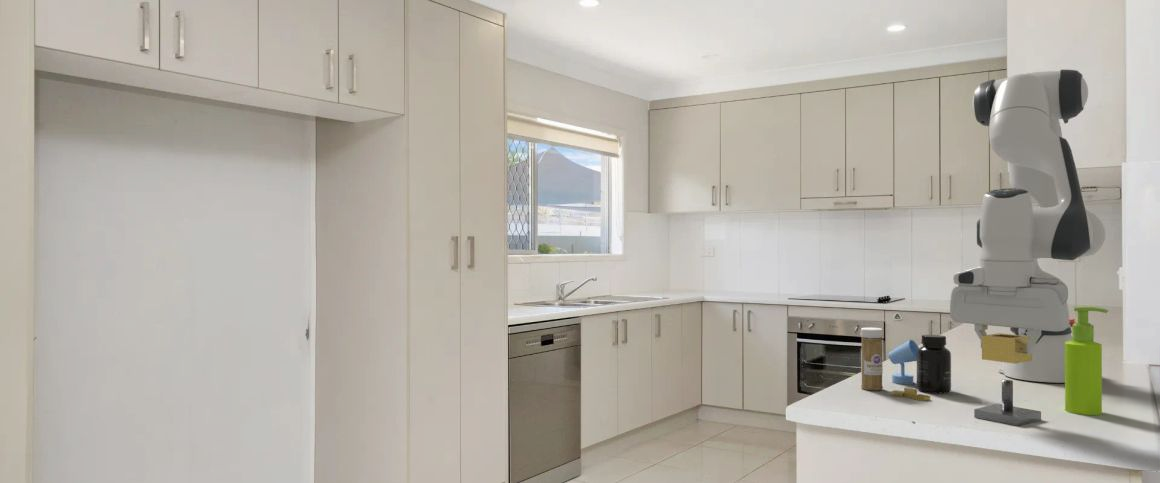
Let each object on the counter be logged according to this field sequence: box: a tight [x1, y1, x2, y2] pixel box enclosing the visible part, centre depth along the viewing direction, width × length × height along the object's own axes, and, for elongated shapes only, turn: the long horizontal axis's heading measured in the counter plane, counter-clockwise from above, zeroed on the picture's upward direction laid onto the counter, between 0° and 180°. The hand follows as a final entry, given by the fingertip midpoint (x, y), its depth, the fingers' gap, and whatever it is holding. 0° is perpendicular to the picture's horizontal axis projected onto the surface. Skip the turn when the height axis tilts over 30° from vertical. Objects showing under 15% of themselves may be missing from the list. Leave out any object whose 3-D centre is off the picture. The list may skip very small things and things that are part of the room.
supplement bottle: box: [916, 334, 952, 394], centre depth 167 cm, size 7×7×12 cm
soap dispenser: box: [1064, 306, 1109, 416], centre depth 146 cm, size 6×7×20 cm
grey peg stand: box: [973, 379, 1042, 427], centre depth 142 cm, size 8×8×7 cm
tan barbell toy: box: [890, 387, 931, 402], centre depth 160 cm, size 2×8×2 cm, turn 33°
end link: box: [981, 332, 1032, 364], centre depth 142 cm, size 6×6×4 cm
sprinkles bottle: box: [860, 326, 884, 392], centre depth 169 cm, size 5×5×14 cm
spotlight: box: [888, 339, 920, 385], centre depth 176 cm, size 5×10×7 cm
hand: (1006, 351), depth 142 cm, fingers closed on end link, 6 cm apart
